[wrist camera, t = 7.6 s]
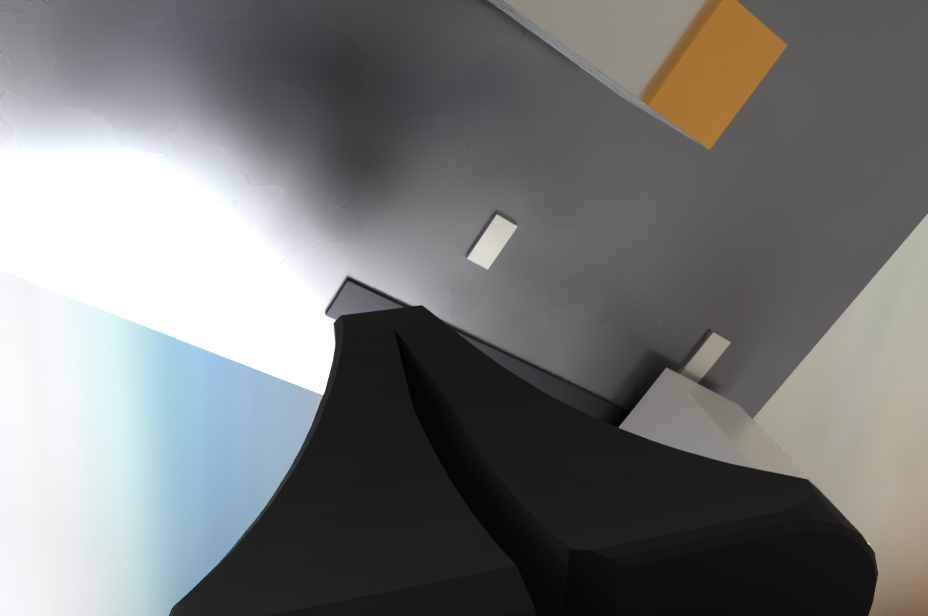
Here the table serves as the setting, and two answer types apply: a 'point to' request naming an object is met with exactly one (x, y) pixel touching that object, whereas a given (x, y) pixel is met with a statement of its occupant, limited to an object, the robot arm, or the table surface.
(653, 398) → the cap
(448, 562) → the robot arm
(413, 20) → the console plate
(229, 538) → the table surface
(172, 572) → the table surface
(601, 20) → the selector lever
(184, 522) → the table surface
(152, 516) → the table surface
